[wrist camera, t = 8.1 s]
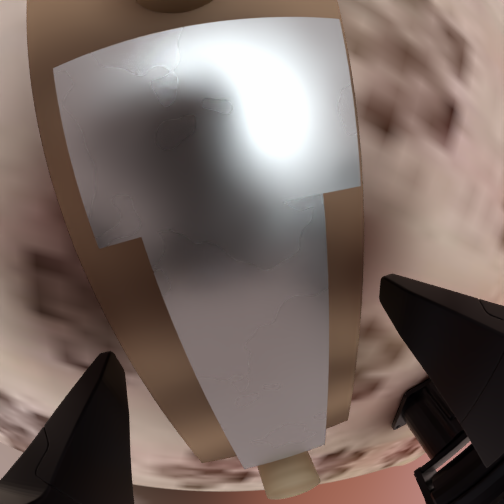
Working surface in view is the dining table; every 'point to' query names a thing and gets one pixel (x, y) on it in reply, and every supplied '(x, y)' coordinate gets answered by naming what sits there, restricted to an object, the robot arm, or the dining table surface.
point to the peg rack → (133, 251)
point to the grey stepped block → (226, 202)
